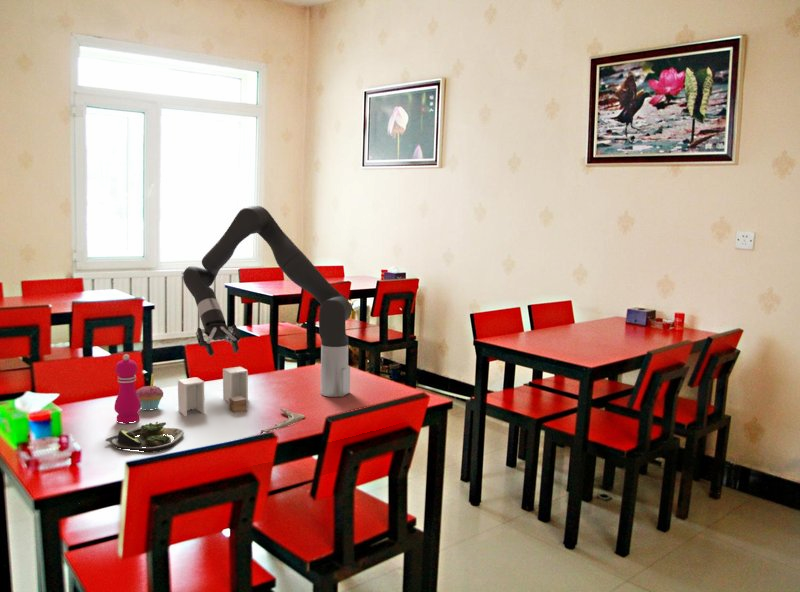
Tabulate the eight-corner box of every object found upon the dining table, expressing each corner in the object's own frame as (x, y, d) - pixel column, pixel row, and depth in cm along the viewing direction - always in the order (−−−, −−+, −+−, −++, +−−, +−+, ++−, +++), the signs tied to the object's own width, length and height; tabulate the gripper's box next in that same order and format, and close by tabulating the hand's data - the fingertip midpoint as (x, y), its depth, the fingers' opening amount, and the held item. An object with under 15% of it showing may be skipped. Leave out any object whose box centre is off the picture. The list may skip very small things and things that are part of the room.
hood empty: (178, 411, 214) (177, 379, 212) (197, 408, 217) (196, 377, 216) (185, 416, 209) (184, 384, 207) (204, 413, 212) (204, 381, 211)
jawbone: (308, 416, 215) (309, 410, 214) (290, 440, 195) (291, 433, 194) (280, 412, 216) (280, 406, 215) (259, 435, 196) (260, 428, 195)
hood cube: (223, 398, 228) (222, 368, 227) (240, 395, 232) (240, 366, 230) (230, 402, 223) (230, 372, 222) (247, 400, 227) (247, 370, 225)
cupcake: (169, 407, 217) (168, 370, 216) (149, 414, 210) (148, 376, 208) (149, 403, 221) (148, 366, 219) (128, 410, 213) (127, 372, 212)
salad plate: (138, 426, 200) (138, 410, 200) (196, 431, 197) (196, 415, 196) (98, 450, 181) (98, 433, 181) (161, 456, 178) (161, 439, 178)
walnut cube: (229, 410, 216) (229, 397, 216) (241, 408, 219) (240, 395, 218) (234, 413, 213) (234, 401, 212) (246, 411, 215) (246, 399, 215)
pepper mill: (146, 418, 206) (144, 353, 203) (129, 426, 199) (127, 358, 196) (126, 415, 208) (124, 350, 205) (109, 422, 201) (107, 355, 198)
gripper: (193, 309, 233) (207, 349, 225) (233, 306, 241) (247, 344, 234) (188, 322, 238) (201, 362, 230) (227, 319, 246) (241, 357, 239)
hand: (224, 353), depth 232 cm, fingers open, 8 cm apart
